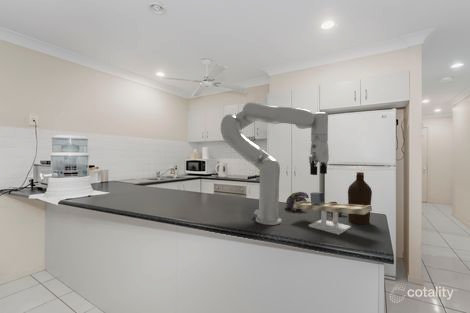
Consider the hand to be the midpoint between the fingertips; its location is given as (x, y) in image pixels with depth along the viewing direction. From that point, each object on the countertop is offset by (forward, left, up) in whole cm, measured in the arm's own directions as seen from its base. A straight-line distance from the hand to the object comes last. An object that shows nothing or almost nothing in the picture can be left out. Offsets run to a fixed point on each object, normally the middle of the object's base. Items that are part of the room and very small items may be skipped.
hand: (318, 174), depth 111 cm
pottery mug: (-2, +24, -25) cm, 34 cm away
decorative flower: (-22, +17, -24) cm, 37 cm away
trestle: (+6, 0, -24) cm, 25 cm away
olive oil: (+12, +20, -24) cm, 34 cm away
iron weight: (0, 0, -15) cm, 15 cm away
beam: (+6, 0, -16) cm, 17 cm away
